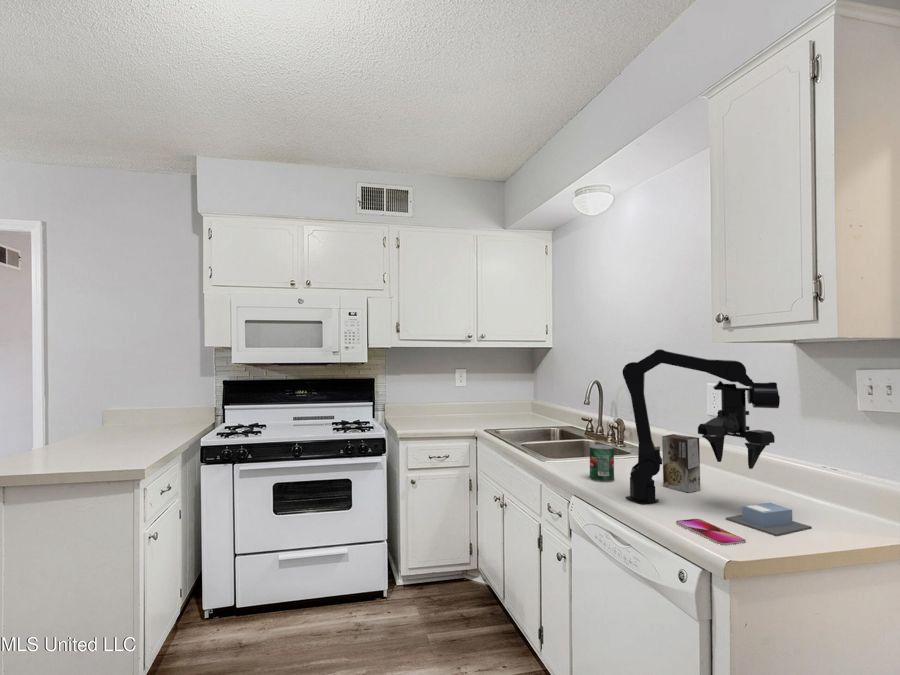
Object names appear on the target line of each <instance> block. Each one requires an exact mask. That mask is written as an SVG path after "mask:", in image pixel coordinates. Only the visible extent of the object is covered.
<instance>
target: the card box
mask: <svg viewBox="0 0 900 675" xmlns="http://www.w3.org/2000/svg"><path fill="white" fill-rule="evenodd" d="M741 508H742V514H743V520H744V521H747V522H750V523H752V524H755V525H758V526H760V527H763V528H766V527H774V526H782V525H789V524H793V523H792V521H793V509H792V508H789V507H785V506H782V505H779V504H776V503H772V502H763V503H755V504H746V505H742V506H741Z"/></svg>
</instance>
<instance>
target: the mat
mask: <svg viewBox="0 0 900 675" xmlns="http://www.w3.org/2000/svg"><path fill="white" fill-rule="evenodd" d="M725 520H727V521H729V522H733V523H736V524H739V525H742V526H744V527H748V528H751V529H754V530H757V531H760V532H763V533H766V534H768V535H772V536H774V537H779V536H784V535H788V534H792V533H796V532H800V531H806V530H809V529H812V528H813V527H812V526H811V525H807V524H804V523H801V522H798V521H794V520H792V523H793V524H789V525H782V526H774V527H766V528H763V527H760V526H758V525H755V524H752V523H750V522H747V521H744V520H743V513H742V514H738V515H732V516H727V517H725Z"/></svg>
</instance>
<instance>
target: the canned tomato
mask: <svg viewBox="0 0 900 675" xmlns="http://www.w3.org/2000/svg"><path fill="white" fill-rule="evenodd" d="M614 448H615V447H614V446H613V445H610V444H601V443H600V444H590V445H589V480H591V481H593V480H594V482H597V481H599V482H598V483H611V482H614V481H615V449H614Z"/></svg>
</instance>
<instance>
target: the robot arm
mask: <svg viewBox="0 0 900 675" xmlns="http://www.w3.org/2000/svg"><path fill="white" fill-rule="evenodd" d="M661 364H665V365H669V366H675V367H680V368H684V369H688V370H693V371H697V372H698V371H699V372H703V373H706V374H710V375H711V376H714V377H718V378H720V379H722V380H725V381H728V382H731V383H724V382H723V381H721V380H718V382H717V383H716V384H715V385H714V386H713V387H712V388H713V390H715V391H716V390H717V391H718V390H719V391H721V392H720V395H721V396H720V397H721V404H720V405H721V409H718V410H717V416H716V417H714V418H711V419H710V420H707V422H704V423H699V425H698V426H697V434H698V435H701V438H704V439H705V440H706V441H708V443H709V445H710V446H711V449H712V451H713V454H714V456H715V459H716V461H717V463H721V462H722V459H723V456H724V455H723V453H724V445H725V437H726V436H730V437H736V438H742V439H745V441H747V442H744V445H745V447H746V448H747V465H748V469H749V470H753V469H754V467H755V465H756V463H757V461H758V459H759V457H760V456H761V453H762V452H764V450H765V448H766V446H770V444H774V443H776V442H775V435H774V434H773V432H772V431H769V430H763V429H754V430H753V429H752V430H750V426H749V425H747V416H749V415H750V411H749V410H747V406H746V405H747V404H746V403H748V404H751V405H752V408H753V409H754V408H756V409H757V408H758V409H759V408H761V409H762V408H763V409H779V408H780V402H781V401H780V399H781V398H780V394H779V389H778V383H777V382H774V381H772V382H770V381H769V382H754V381H753V379H751V378H750V377H749V376H748V374H747V369H746V366H745V365H744V363H742V362H741V361H739V360H734V359H733V360H730V359H707V358H702V357H697V356H693V355H689V354H688V355H687V354H682V353H677V352H672V351H669V350H667V351H666V350H664V349H660V348H659V349H656V350H655V351H654V352H652V353H651V354H649V355H648V356H646V357H644V358H642V359H641V360H639V361H637V362H636V361H632V362H628V363H627V364H625V365H624V367H623V368H622V376H623V380H624V381H625V384H626V388H627V390H628V393H629V395H630V398H631V404H632V412H633V415H634V421H635V429H636V435H637V440H638V449H637V450H638V451H637V458H638V459H637V463H636V464H635V465H633V466H632V467H631V471H630V474H629V475H630V476H629V496H625V499H627V500H629V501H632V502H635V503H638V504H639V505H646V504H652V503H658V502H660V500H659V499H658V498H656V486H655V479H653V477H654V476H656V475H657V474H658V473H659V472H660V471H661V466H663V457H662V456H661V446H659V445H658V446H655V443H654V441H653V438H652V433H651V432H652V430H651V424H650V420H649V413H648V408H647V402H646V396H645V374H646V373H647V372H649V371H650V370H652V369H654V368H655V367H657V366H659V365H661ZM736 383H738V384H740V385H743V387H737V384H736ZM746 391H747V395H746ZM746 396H747V402H746Z"/></svg>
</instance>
